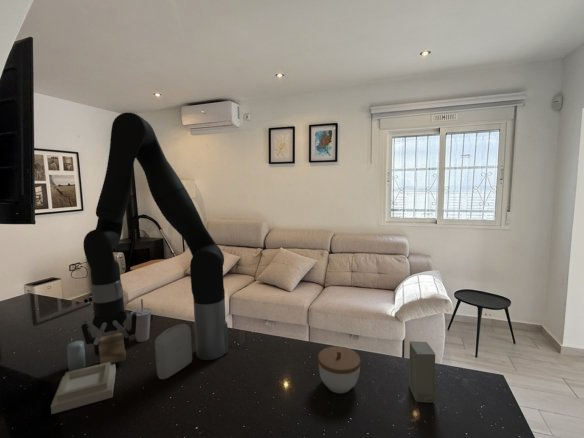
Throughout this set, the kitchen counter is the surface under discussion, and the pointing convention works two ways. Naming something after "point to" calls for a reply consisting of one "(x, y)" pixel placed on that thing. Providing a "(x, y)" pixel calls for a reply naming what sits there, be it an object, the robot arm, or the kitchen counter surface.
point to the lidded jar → (339, 368)
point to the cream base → (84, 387)
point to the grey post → (76, 355)
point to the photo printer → (173, 350)
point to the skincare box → (422, 371)
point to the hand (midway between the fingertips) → (113, 351)
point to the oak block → (112, 348)
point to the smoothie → (142, 323)
